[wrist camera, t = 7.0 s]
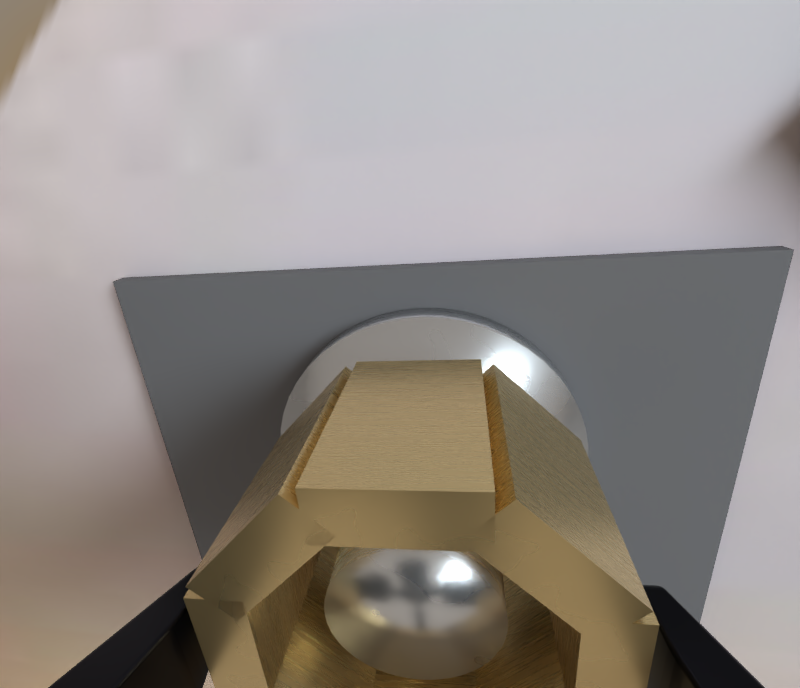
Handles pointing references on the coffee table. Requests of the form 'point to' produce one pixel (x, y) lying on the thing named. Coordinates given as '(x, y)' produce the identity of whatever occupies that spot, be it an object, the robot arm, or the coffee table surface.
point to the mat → (525, 314)
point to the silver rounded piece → (426, 569)
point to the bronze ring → (424, 534)
